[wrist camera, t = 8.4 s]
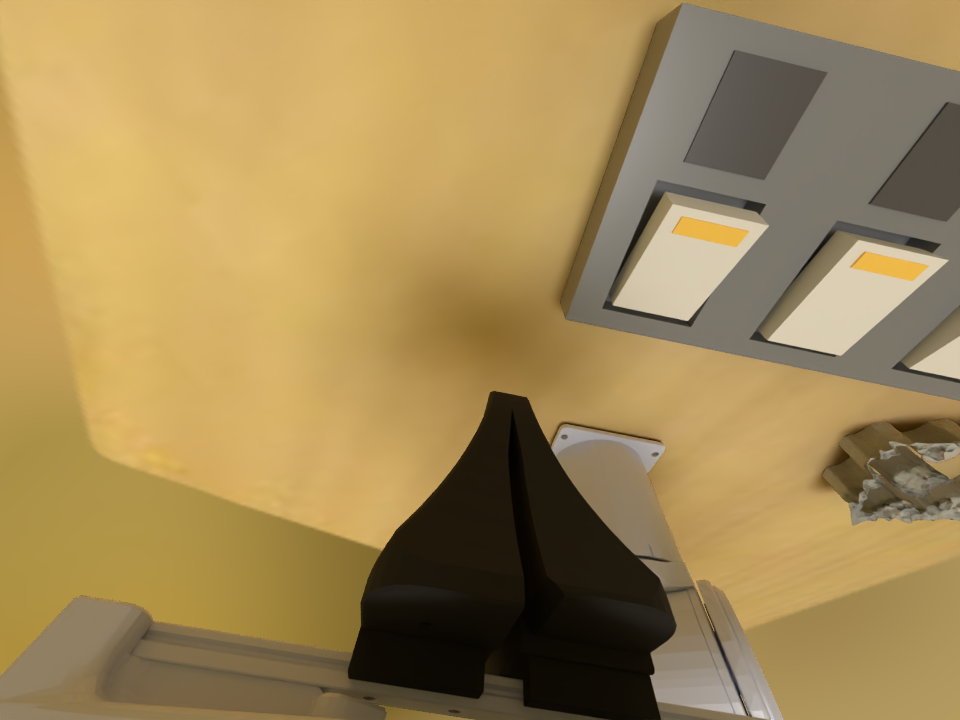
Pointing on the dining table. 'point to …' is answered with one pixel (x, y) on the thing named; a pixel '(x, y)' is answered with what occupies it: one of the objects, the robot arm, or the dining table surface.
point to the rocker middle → (847, 292)
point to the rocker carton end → (938, 349)
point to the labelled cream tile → (684, 255)
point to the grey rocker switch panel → (782, 182)
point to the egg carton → (898, 473)
